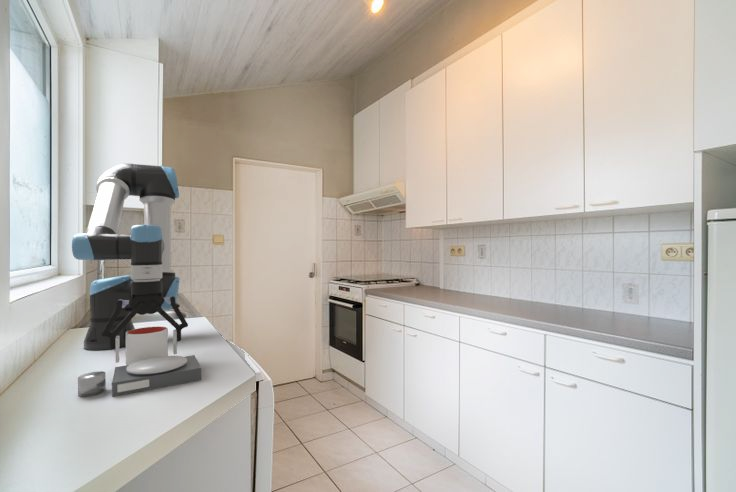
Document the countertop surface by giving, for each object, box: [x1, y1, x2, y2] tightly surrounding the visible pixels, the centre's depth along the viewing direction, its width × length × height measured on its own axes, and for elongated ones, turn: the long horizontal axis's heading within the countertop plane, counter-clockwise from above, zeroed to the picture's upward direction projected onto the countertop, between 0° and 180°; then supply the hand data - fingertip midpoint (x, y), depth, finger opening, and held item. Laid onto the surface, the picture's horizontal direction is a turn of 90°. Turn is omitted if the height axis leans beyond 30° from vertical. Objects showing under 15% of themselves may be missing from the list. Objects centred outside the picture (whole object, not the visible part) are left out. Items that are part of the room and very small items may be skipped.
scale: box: [111, 355, 202, 397], centre depth 90 cm, size 13×18×4 cm
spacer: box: [77, 370, 107, 398], centre depth 82 cm, size 5×5×4 cm
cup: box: [125, 326, 169, 366], centre depth 101 cm, size 10×10×10 cm
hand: (147, 357), depth 100 cm, fingers open, 13 cm apart
